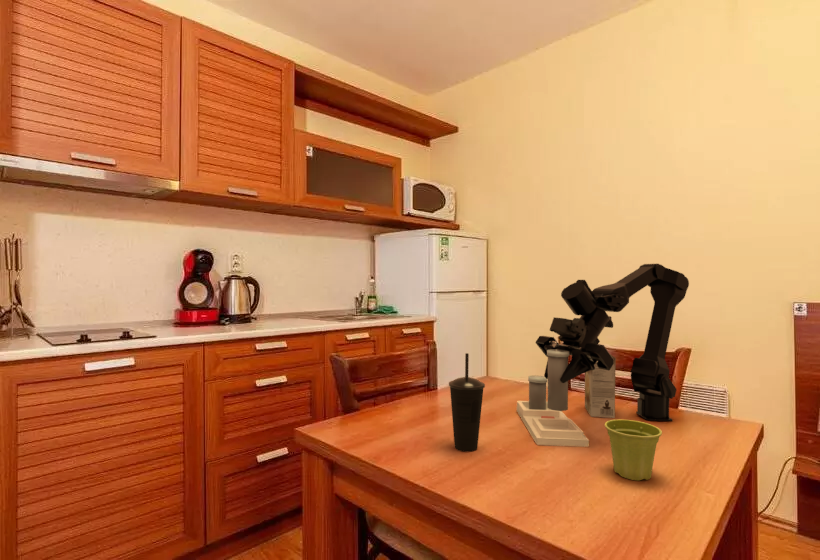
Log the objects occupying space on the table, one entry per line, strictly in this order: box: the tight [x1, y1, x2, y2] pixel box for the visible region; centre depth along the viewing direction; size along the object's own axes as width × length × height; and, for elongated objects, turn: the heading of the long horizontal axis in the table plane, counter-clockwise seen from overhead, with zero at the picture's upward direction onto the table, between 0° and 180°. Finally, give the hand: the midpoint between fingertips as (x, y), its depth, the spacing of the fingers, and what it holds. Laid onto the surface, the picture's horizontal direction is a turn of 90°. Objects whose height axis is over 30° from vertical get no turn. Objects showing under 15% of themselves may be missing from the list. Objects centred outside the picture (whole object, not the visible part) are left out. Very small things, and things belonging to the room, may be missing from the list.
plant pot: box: [604, 418, 663, 482], centre depth 80 cm, size 9×9×9 cm
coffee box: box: [584, 353, 617, 419], centre depth 119 cm, size 9×6×16 cm
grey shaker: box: [547, 349, 570, 412], centre depth 99 cm, size 5×5×13 cm
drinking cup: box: [448, 352, 486, 453], centre depth 92 cm, size 8×8×20 cm
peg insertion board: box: [516, 374, 590, 448], centre depth 106 cm, size 11×25×10 cm, turn 176°
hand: (553, 379), depth 98 cm, fingers closed on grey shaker, 4 cm apart
